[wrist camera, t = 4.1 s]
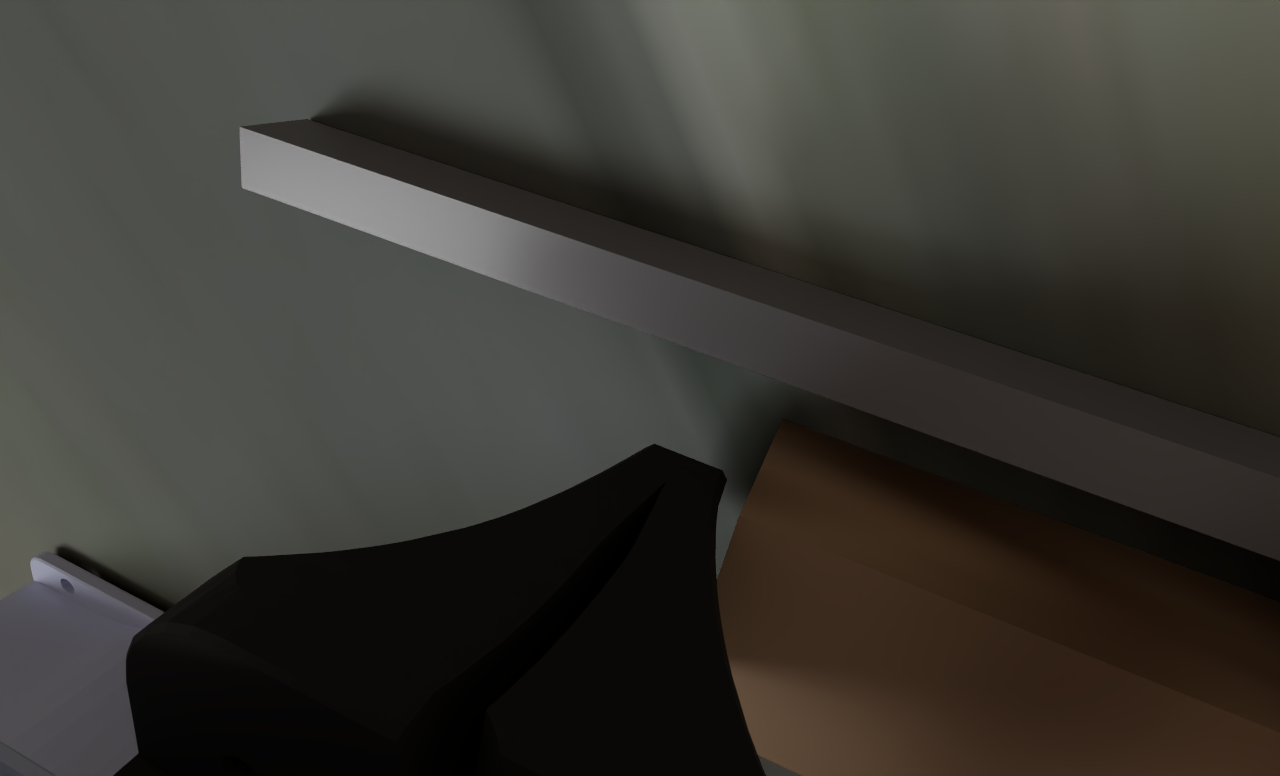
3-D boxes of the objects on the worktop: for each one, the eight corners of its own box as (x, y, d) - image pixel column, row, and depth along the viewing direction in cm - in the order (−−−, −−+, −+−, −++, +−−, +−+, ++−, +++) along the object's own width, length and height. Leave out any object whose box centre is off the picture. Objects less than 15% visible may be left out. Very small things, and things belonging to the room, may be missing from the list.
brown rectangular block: (720, 594, 14) (670, 713, 12) (781, 418, 12) (739, 515, 10) (1168, 787, 13) (1224, 976, 10) (1320, 616, 11) (1435, 795, 8)
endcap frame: (307, 463, 17) (120, 585, 13) (307, 119, 13) (49, 147, 10) (1365, 939, 12) (1554, 1341, 9) (1803, 608, 9) (2469, 1046, 5)
